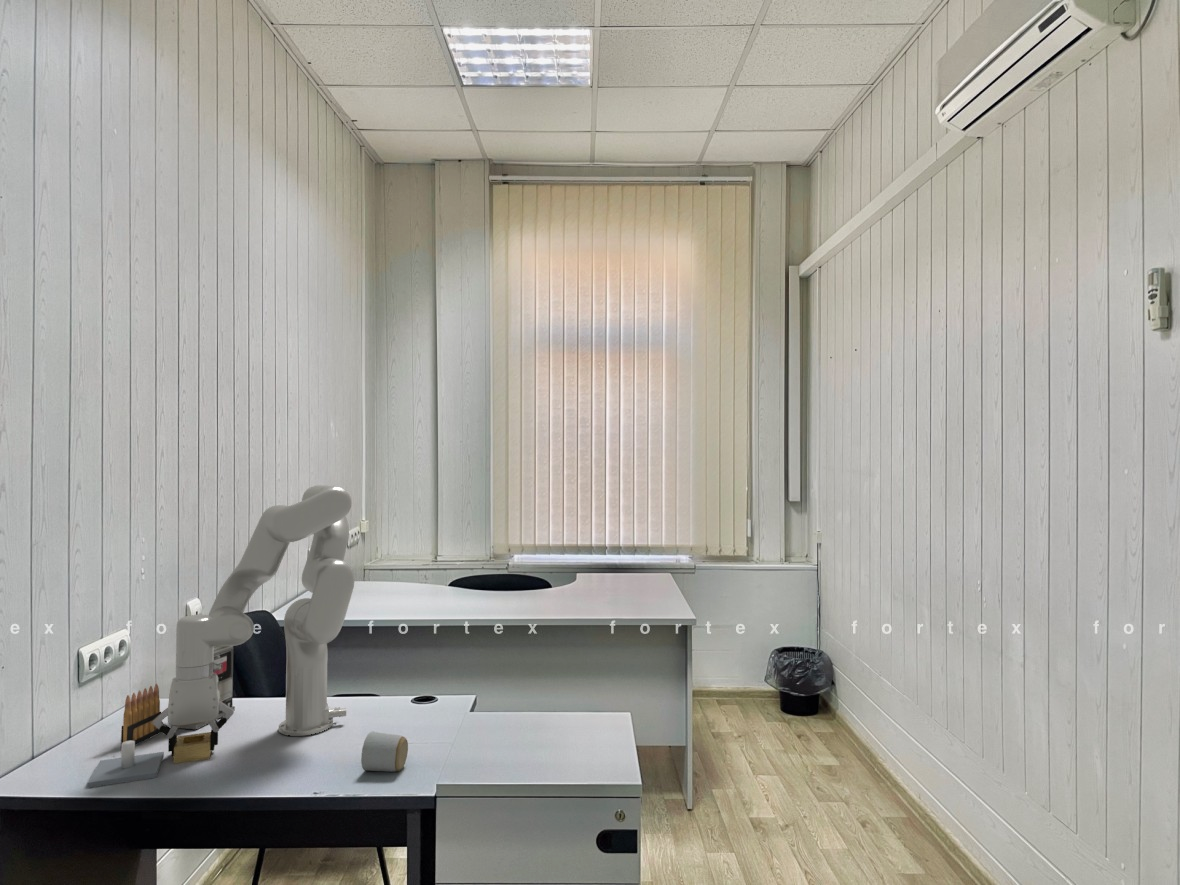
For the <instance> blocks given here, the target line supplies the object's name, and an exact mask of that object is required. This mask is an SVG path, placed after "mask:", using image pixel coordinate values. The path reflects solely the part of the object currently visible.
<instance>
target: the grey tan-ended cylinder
mask: <svg viewBox="0 0 1180 885" xmlns="http://www.w3.org/2000/svg"><path fill="white" fill-rule="evenodd" d="M408 753H409V742H408V739H407V737H405V736H403V735H400V734H394V733H393V734H392V733H385V732H377V731H376V732H375V731H370V732H369V733H368V734H367V735H366V737H365V739H364V741H363V745H362V749H361V759H360V761H361V762H360V763H361V768H362V769H363V771H366V772H367V771H370V772H389V773H390V772H400V771H401V770H402V769H403V768H404V766H405V764H406V760H407V757H408Z"/></svg>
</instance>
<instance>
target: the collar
mask: <svg viewBox="0 0 1180 885" xmlns="http://www.w3.org/2000/svg"><path fill="white" fill-rule="evenodd" d="M210 735H211V731H207V732H201V733H193V734H186V735H179V736H178V735H177V741H176V744H175V746H174V756H173V764H175V765H176V764H180V763H187V762H194V761H199V760H200V761H201V760H207V759H209V760H210V759H211V755H212V751H211V739H210Z"/></svg>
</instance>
